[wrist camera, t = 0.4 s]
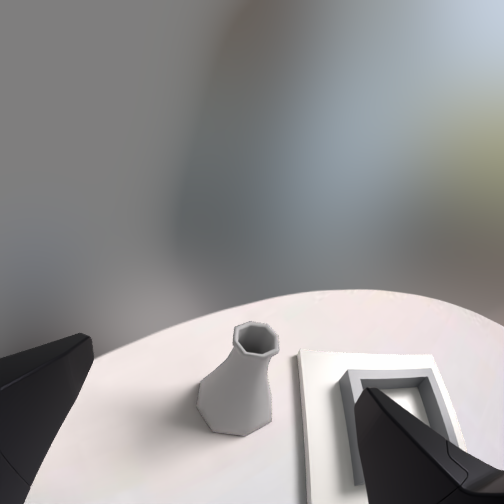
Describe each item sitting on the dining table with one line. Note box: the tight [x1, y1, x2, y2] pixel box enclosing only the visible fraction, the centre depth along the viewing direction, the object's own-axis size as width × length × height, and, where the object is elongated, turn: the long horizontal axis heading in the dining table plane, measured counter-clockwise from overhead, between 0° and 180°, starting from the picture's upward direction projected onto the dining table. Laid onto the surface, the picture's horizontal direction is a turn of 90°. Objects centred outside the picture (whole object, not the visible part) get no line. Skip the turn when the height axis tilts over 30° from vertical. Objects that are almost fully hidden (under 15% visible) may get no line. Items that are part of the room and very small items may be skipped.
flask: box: [196, 321, 279, 436], centre depth 20 cm, size 7×7×10 cm
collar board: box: [297, 349, 468, 504], centre depth 21 cm, size 20×20×3 cm
